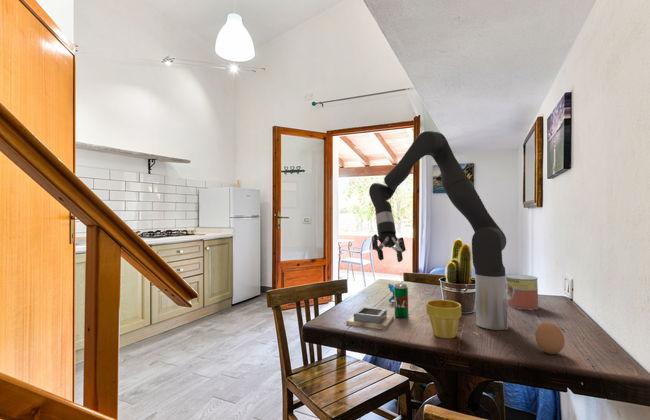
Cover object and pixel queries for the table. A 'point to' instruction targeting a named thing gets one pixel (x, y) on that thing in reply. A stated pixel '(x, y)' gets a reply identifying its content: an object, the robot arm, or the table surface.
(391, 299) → the blue knobbly figurine
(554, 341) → the egg
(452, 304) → the plant pot
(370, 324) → the board
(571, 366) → the table surface
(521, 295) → the canned food
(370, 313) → the collar
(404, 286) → the soda can
